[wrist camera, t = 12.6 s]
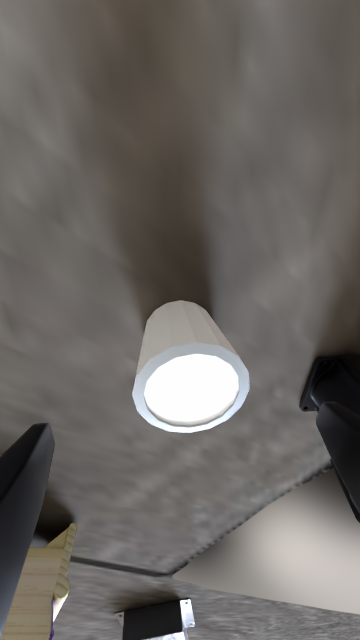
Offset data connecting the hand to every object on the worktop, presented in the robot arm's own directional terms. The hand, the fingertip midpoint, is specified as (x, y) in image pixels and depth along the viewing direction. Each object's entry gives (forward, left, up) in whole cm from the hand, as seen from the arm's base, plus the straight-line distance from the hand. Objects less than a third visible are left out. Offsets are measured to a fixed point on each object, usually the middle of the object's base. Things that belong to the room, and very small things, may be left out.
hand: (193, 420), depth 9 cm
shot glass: (-4, -1, -12) cm, 13 cm away
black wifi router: (-72, 0, -12) cm, 73 cm away
